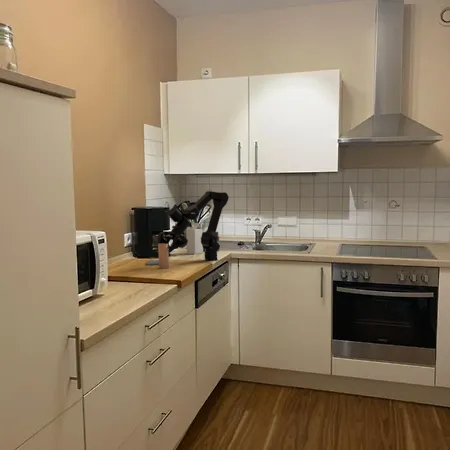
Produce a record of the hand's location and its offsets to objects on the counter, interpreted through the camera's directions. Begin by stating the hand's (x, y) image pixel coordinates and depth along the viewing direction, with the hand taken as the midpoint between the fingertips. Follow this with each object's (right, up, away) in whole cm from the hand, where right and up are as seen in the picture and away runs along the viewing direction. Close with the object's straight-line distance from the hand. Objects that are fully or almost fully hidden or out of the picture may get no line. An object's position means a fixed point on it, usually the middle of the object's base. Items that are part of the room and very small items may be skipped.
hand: (163, 251), depth 238 cm
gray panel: (-6, -7, +16) cm, 19 cm away
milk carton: (+13, -4, +51) cm, 53 cm away
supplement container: (+22, -3, +62) cm, 66 cm away
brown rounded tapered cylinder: (0, -9, +1) cm, 9 cm away
